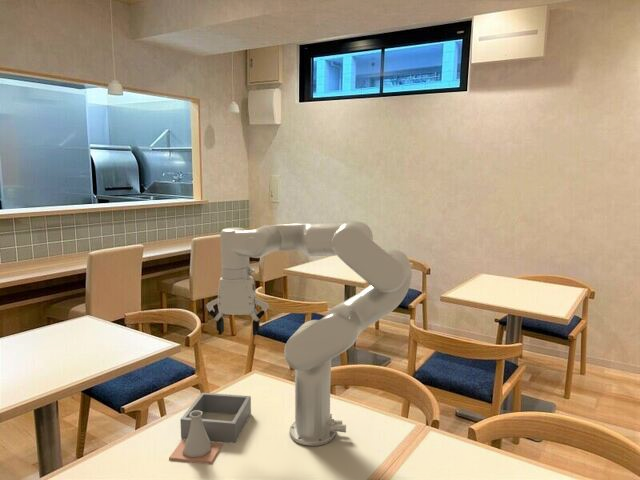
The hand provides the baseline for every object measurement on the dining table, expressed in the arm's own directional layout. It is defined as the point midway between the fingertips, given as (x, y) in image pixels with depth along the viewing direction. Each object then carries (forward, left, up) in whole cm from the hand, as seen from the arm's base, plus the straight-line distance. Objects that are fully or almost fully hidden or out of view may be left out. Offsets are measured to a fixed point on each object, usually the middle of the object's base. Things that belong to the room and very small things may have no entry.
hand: (238, 333), depth 129 cm
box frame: (+5, +3, -26) cm, 27 cm away
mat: (+7, +16, -26) cm, 31 cm away
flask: (+6, +16, -26) cm, 31 cm away
